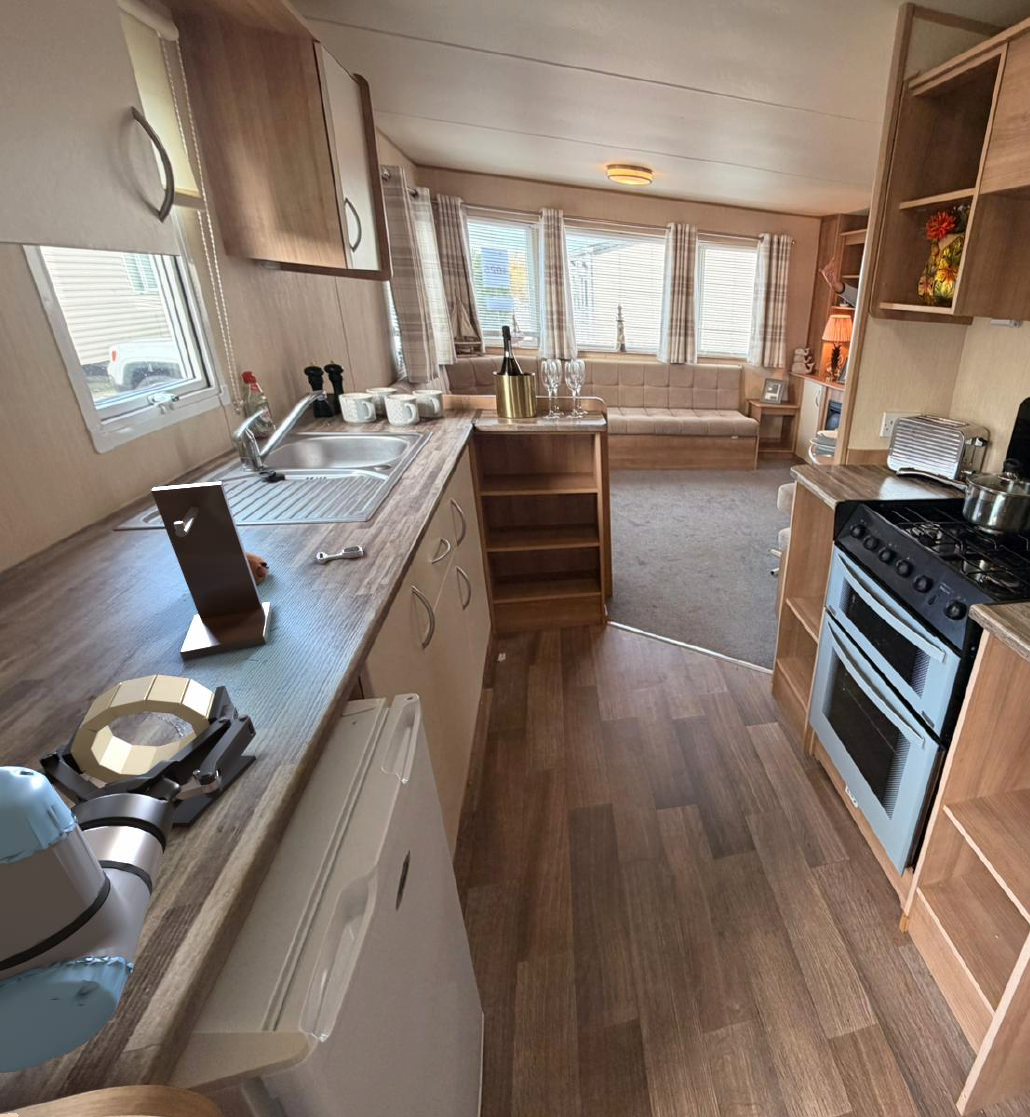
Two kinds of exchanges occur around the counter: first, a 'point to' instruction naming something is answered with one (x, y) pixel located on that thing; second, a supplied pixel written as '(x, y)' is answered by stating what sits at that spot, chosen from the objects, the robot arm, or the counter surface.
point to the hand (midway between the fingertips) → (161, 710)
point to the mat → (199, 803)
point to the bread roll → (257, 567)
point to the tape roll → (151, 694)
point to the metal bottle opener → (341, 554)
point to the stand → (213, 570)
